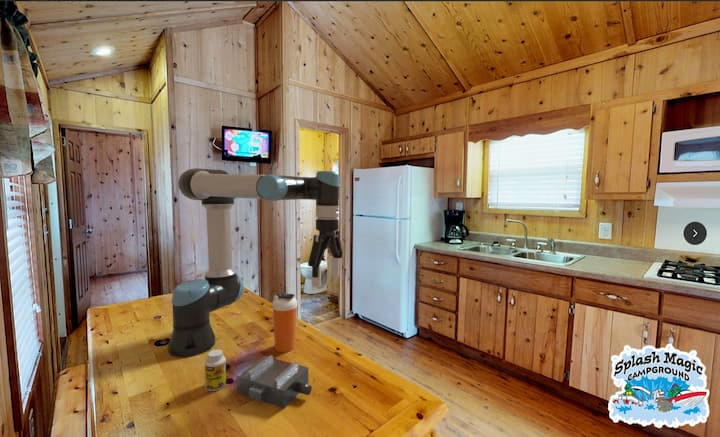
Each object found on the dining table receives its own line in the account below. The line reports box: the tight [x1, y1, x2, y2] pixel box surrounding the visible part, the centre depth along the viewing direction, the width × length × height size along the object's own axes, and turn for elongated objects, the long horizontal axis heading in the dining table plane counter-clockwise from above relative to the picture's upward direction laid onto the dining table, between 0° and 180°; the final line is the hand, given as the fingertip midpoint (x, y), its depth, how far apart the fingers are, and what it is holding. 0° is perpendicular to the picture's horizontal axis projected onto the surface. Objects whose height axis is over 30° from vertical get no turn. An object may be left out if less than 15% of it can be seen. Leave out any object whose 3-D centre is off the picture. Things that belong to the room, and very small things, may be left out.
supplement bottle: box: [204, 349, 227, 392], centre depth 92 cm, size 6×6×10 cm
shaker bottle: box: [271, 291, 298, 353], centre depth 115 cm, size 9×9×20 cm
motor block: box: [236, 354, 313, 409], centre depth 90 cm, size 20×14×6 cm
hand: (326, 281), depth 106 cm, fingers open, 13 cm apart
